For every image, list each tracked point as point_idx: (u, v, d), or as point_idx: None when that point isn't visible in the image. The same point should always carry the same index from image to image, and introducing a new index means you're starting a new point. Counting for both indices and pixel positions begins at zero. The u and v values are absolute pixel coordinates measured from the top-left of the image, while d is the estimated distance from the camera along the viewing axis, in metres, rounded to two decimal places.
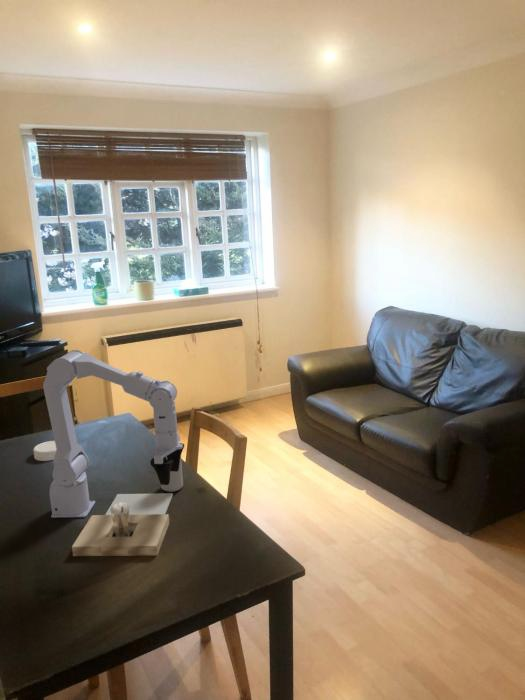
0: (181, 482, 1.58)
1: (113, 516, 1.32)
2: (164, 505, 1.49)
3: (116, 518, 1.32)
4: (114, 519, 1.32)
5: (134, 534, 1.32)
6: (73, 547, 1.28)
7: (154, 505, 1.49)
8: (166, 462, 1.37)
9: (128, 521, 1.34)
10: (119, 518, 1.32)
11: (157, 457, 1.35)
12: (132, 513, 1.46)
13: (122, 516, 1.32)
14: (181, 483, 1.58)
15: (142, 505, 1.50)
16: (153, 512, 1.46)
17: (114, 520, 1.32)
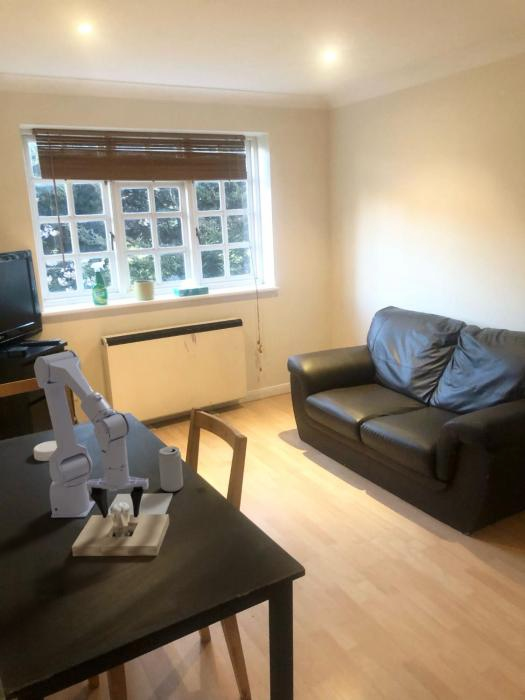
0: (181, 482, 1.58)
1: (113, 516, 1.32)
2: (164, 505, 1.49)
3: (116, 518, 1.32)
4: (114, 519, 1.32)
5: (134, 534, 1.32)
6: (73, 547, 1.28)
7: (154, 505, 1.49)
8: (94, 493, 1.31)
9: (128, 521, 1.34)
10: (119, 518, 1.32)
11: (88, 482, 1.32)
12: (132, 513, 1.46)
13: (122, 516, 1.32)
14: (181, 483, 1.58)
15: (142, 505, 1.50)
16: (153, 512, 1.46)
17: (114, 520, 1.32)
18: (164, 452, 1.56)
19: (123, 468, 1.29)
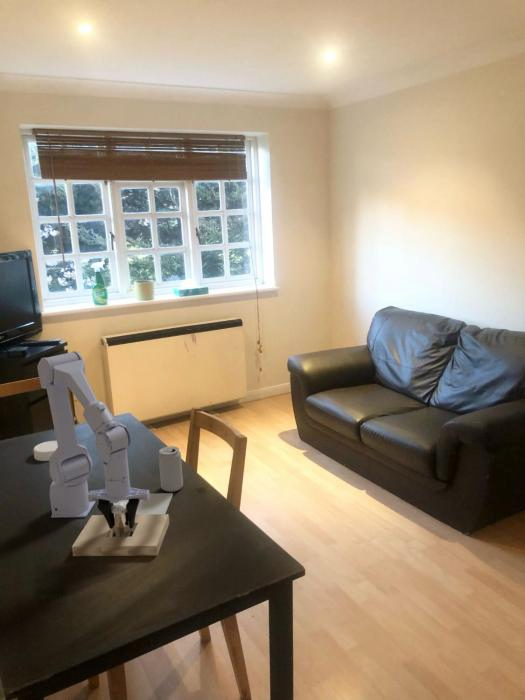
0: (181, 482, 1.58)
1: (114, 516, 1.32)
2: (164, 505, 1.49)
3: (117, 518, 1.32)
4: (115, 519, 1.32)
5: (134, 534, 1.32)
6: (73, 547, 1.28)
7: (154, 505, 1.49)
8: (101, 504, 1.31)
9: (128, 521, 1.34)
10: (119, 518, 1.32)
11: (89, 493, 1.32)
12: None
13: (123, 516, 1.32)
14: (181, 483, 1.58)
15: (142, 505, 1.50)
16: (153, 512, 1.46)
17: (115, 520, 1.32)
18: (164, 452, 1.56)
19: (124, 480, 1.29)
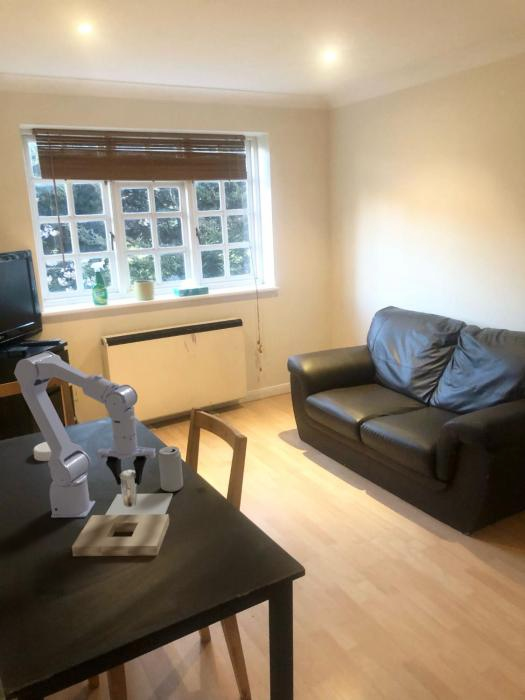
0: (181, 482, 1.58)
1: (122, 482, 1.39)
2: (164, 505, 1.49)
3: (125, 483, 1.39)
4: (123, 485, 1.39)
5: (134, 534, 1.32)
6: (73, 547, 1.28)
7: (154, 505, 1.49)
8: (109, 461, 1.39)
9: (136, 487, 1.41)
10: (128, 484, 1.39)
11: None
12: (132, 513, 1.46)
13: (131, 481, 1.39)
14: (181, 483, 1.58)
15: (142, 505, 1.50)
16: (153, 512, 1.46)
17: (123, 486, 1.39)
18: (164, 452, 1.56)
19: (132, 437, 1.37)
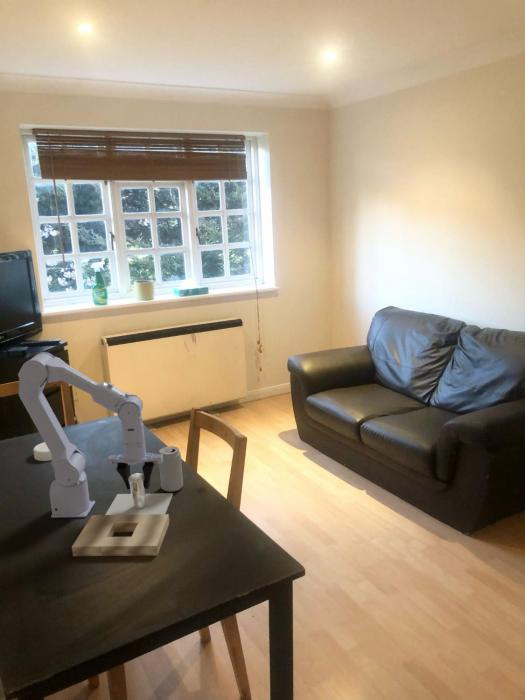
0: (181, 482, 1.58)
1: (131, 485, 1.46)
2: (164, 505, 1.49)
3: (134, 486, 1.46)
4: (132, 487, 1.46)
5: (134, 534, 1.32)
6: (73, 547, 1.28)
7: (154, 505, 1.49)
8: (119, 467, 1.46)
9: (144, 489, 1.48)
10: (137, 486, 1.46)
11: (109, 457, 1.47)
12: (132, 513, 1.46)
13: (140, 484, 1.46)
14: (181, 483, 1.58)
15: None
16: (153, 512, 1.46)
17: (132, 488, 1.46)
18: (164, 452, 1.56)
19: (141, 444, 1.44)
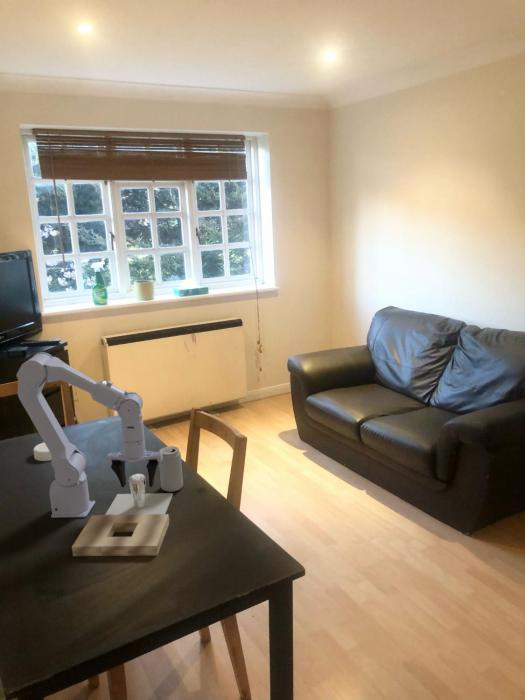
0: (181, 482, 1.58)
1: (132, 486, 1.46)
2: (164, 505, 1.49)
3: (135, 487, 1.46)
4: (133, 488, 1.46)
5: (134, 534, 1.32)
6: (73, 547, 1.28)
7: (154, 505, 1.49)
8: (114, 464, 1.46)
9: (145, 490, 1.48)
10: (137, 487, 1.46)
11: None
12: (132, 513, 1.46)
13: (140, 485, 1.46)
14: (181, 483, 1.58)
15: None
16: (153, 512, 1.46)
17: (132, 489, 1.46)
18: (164, 452, 1.56)
19: (140, 442, 1.44)
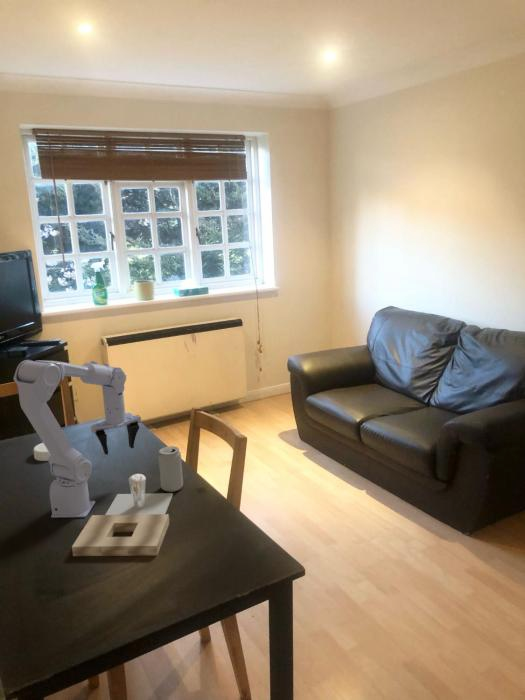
0: (181, 482, 1.58)
1: (132, 486, 1.46)
2: (164, 505, 1.49)
3: (135, 487, 1.46)
4: (133, 488, 1.46)
5: (134, 534, 1.32)
6: (73, 547, 1.28)
7: (154, 505, 1.49)
8: (99, 434, 1.56)
9: (145, 490, 1.48)
10: (137, 487, 1.46)
11: (91, 427, 1.56)
12: (132, 513, 1.46)
13: (140, 485, 1.46)
14: (181, 483, 1.58)
15: None
16: (153, 512, 1.46)
17: (133, 489, 1.46)
18: (164, 452, 1.56)
19: (124, 408, 1.59)
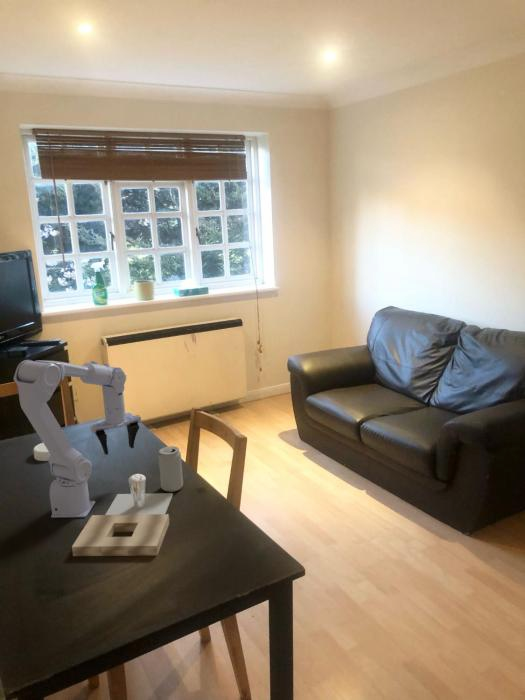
0: (181, 482, 1.58)
1: (132, 486, 1.46)
2: (164, 505, 1.49)
3: (135, 487, 1.46)
4: (133, 488, 1.46)
5: (134, 534, 1.32)
6: (73, 547, 1.28)
7: (154, 505, 1.49)
8: (99, 434, 1.56)
9: (145, 490, 1.48)
10: (137, 487, 1.46)
11: (91, 427, 1.56)
12: (132, 513, 1.46)
13: (140, 485, 1.46)
14: (181, 483, 1.58)
15: None
16: (153, 512, 1.46)
17: (133, 489, 1.46)
18: (164, 452, 1.56)
19: (124, 408, 1.59)
